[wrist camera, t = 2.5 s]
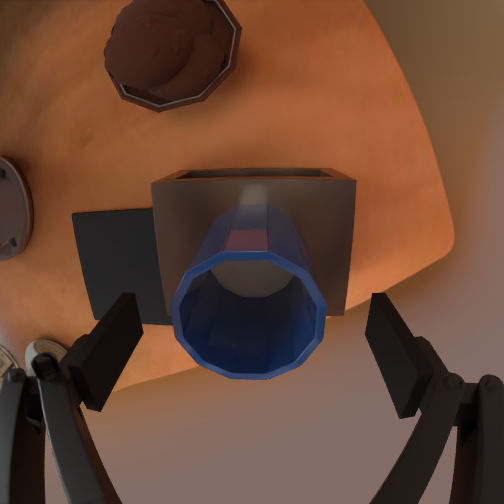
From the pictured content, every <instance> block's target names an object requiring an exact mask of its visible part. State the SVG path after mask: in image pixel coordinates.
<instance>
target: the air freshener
mask: <svg viewBox="0 0 504 504" xmlns="http://www.w3.org/2000/svg"><path fill="white" fill-rule="evenodd" d="M43 352H52V353H53V354H55V356H56V358H57V360H58V363H59V362H60V360H61V359H62V358H63V356H64V355H65V354H66V353H67V350H66V349H64V348H63V347H62V346H60V345H59V344H57V343H55V342H52V341H50V340H46V339H38V340H34V341H33V342H31V343H30V344H29V345H28V346H27V349H26V351H25V363H26V367H27V370H28V371H27V372H26V375H27V376H36V374H35V372H34V370H33V368H32V366H31V361H32V359H33V358H34V357H35V356H36V355H38V354H40V353H43Z"/></svg>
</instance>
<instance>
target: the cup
mask: <svg viewBox="0 0 504 504" xmlns="http://www.w3.org/2000/svg"><path fill="white" fill-rule="evenodd" d="M170 310H171V316H172V322H173V328H174V333H175V338H176V340H177V341H178V342H179V343H180V344H181V345H182V347H183V348H184V349H185V350H186V351H187V352H188V354H189V355H190V356H191V357H192V358H193V359H194V360H195V362H196V363H197V364H199V365H200V366H202V367H205V368H207V369H209V370H211V371H213V372H216V373H218V374H220V375H223V376H225V377H227V378H230V379H231V378H232V379H251V380H257V379H258V380H265V379H266V380H267V379H271V378H273V377H275V376H278V375H280V374H283V373H285V372H287V371H290V370H292V369H295V368H297V367H299V366H300V365H302V364H303V363H304V362H305V360H306V359H307V358H308V357H309V356H310V355H311V353H312V352H313V351H314V350H315V349H316V347H317V346H318V345H319V344H320V343H321V341H322V339H323V336H324V328H325V320H326V311H327V305H326V301H325V298H324V295H323V292H322V289H321V286H320V284H319V281H318V278H317V275H316V272H315V270H314V267H313V264H312V261H311V259H310V256H309V253H308V250H307V248H306V245H305V242H304V240H303V238H302V236H301V235H300V233H299V231H298V229H297V228H296V226H295V224H294V222H293V221H292V219H291V218H290V217H288V216H286V215H284V214H283V213H281V212H279V211H277V210H275V209H274V208H272V207H270V206H268V205H239V206H236V207H235V208H233V209H231V210H230V211H228V212H226V213H225V214H223V215H221V216H220V217H218V218H216V219H215V220H214V222H213V224H212V226H211V227H210V229H209V231H208V233H207V234H206V236H205V238H204V240H203V241H202V243H201V245H200V247H199V249H198V250H197V252H196V254H195V256H194V258H193V259H192V261H191V263H190V265H189V267H188V268H187V270H186V272H185V274H184V276H183V278H182V280H181V282H180V284H179V286H178V288H177V290H176V292H175V294H174V296H173V298H172V300H171V303H170Z"/></svg>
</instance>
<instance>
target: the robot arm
mask: <svg viewBox="0 0 504 504" xmlns="http://www.w3.org/2000/svg"><path fill="white" fill-rule="evenodd" d="M32 226H33V206H32V199H31V195H30V191H29V187H28V185H27V182H26V180H25V177H24V176H23V174H22V172H21V170H20V169H19V168H18V166H17V165H16V164H15V163H14V162H13V161H12V160H10V159H9V158H7V157H5V156H0V261H5V260H8V259H10V258H13V257H14V256H16V255H18V254H19V253H20V252H22V251H23V250H24V248H25V247H26V245H27V244H28V242H29V239H30V236H31V232H32ZM143 333H144V332H143V328H142V324H141V319H140V315H139V310H138V305H137V300H136V295H135V293H130V292H123V293H122V294H121V295H120V297H119V298H118V299H117V300H116V301H115V303H114V304H113V305H112V306H111V308H110V309H109V310H108V311H107V312H106V314H105V315H104V316H103V317H102V319H101V320H100V321H99V322H98V324H97V325H96V326H95V327H94V329H93V330H92V331H91V333H90V334H84V335H83V336H81V337H80V338H78V339H77V340H76V341H75V342H74V344H73V345H72V346H71V347H70V349H69V351H67V353H66V354H65V355H64V356H63V358H62V359H61V360H60V362H59V363H58V360H57V358H56V356H55V354H53V353H52V352H43V353H40V354H38V355H36V356H35V357H34V358H33V359H32V361H31V366H32V368H33V370H34V372H35V374H36V376H27V375H26V373H25V371H24V369H22V368H13V369H11V370H9V371H8V372H7V373H6V374H5V375H4V377H3V381H2V384H1V388H0V504H45V478H44V458H45V457H44V456H45V454H44V453H45V431H46V429H47V432H48V437H49V441H50V445H51V449H52V453H53V457H54V460H55V464H56V467H57V470H58V473H59V477H60V480H61V483H62V486H63V489H64V492H65V495H66V497H67V500H68V503H69V504H122V502H121V501H120V498H119V497H118V495H117V493H116V491H115V489H114V487H113V485H112V483H111V481H110V479H109V477H108V474H107V472H106V470H105V468H104V466H103V463H102V462H101V459H100V457H99V454H98V452H97V450H96V447H95V445H94V442H93V440H92V437H91V435H90V432H89V429H88V427H87V424H86V421H85V418H84V416H83V413H82V410H81V408H80V404H81V402H82V401H83V402H84V404H85V406H86V408H87V409H90V410H94V411H98V412H101V410H102V408H103V406H104V405H105V402H106V400H107V399H108V397H109V395H110V393H111V391H112V389H113V387H114V386H115V384H116V382H117V380H118V378H119V376H120V374H121V373H122V371H123V369H124V367H125V365H126V364H127V362H128V360H129V358H130V356H131V354H132V353H133V351H134V349H135V347H136V346H137V344H138V342H139V340H140V338H141V337H142V335H143ZM365 336H366V338H367V341H368V343H369V345H370V348H371V350H372V352H373V354H374V357H375V359H376V362H377V364H378V366H379V369H380V371H381V374H382V376H383V379H384V381H385V383H386V386H387V388H388V391H389V393H390V396H391V398H392V401H393V403H394V406H395V409H396V411H397V414H398V417H399V419H403V418H408V417H413V416H415V414H416V412H417V410H418V408H419V409H420V411H421V413H422V415H421V416H420V418H419V420H418V423H417V424H416V426H415V428H414V431H413V432H412V434H411V437H410V438H409V440H408V442H407V444H406V446H405V447H404V449H403V451H402V453H401V454H400V456H399V458H398V460H397V461H396V463H395V465H394V466H393V468H392V470H391V471H390V473H389V475H388V476H387V478H386V480H385V481H384V483H383V484H382V486H381V487H380V489H379V490H378V492H377V493H376V495H375V496H374V497H373V499H372V501H371V502H370V503H369V504H418V502H419V500H420V498H421V496H422V495H423V493H424V491H425V489H426V487H427V485H428V483H429V481H430V479H431V477H432V474H433V472H434V470H435V468H436V466H437V463H438V461H439V459H440V456H441V454H442V452H443V449H444V447H445V444H446V442H447V439H448V436H449V434H450V431H451V429H452V426H457V444H456V456H455V466H454V474H453V482H452V489H451V495H450V501H449V504H504V384H503V382H502V381H501V380H500V378H498V377H496V376H494V375H484V376H483V377H482V378H481V379H480V381H479V383H465V382H464V380H463V379H462V378H461V377H460V376H459V375H457V374H455V373H450V372H448V370H447V368H446V367H445V365H444V364H443V362H442V360H441V359H440V358H439V356H438V355H437V353H436V351H435V350H434V349H433V347H432V345H431V344H430V342H429V341H427V340H426V339H425V338H423V337H422V336H420V337H414V336H413V335H412V333H411V332H410V330H409V328H408V327H407V325H406V324H405V322H404V321H403V319H402V318H401V316H400V314H399V313H398V311H397V310H396V309H395V307H394V305H393V304H392V303H391V301H390V299H389V298H388V297H387V295H386V294H385V293H372V298H371V304H370V310H369V315H368V321H367V326H366V331H365Z"/></svg>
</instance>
